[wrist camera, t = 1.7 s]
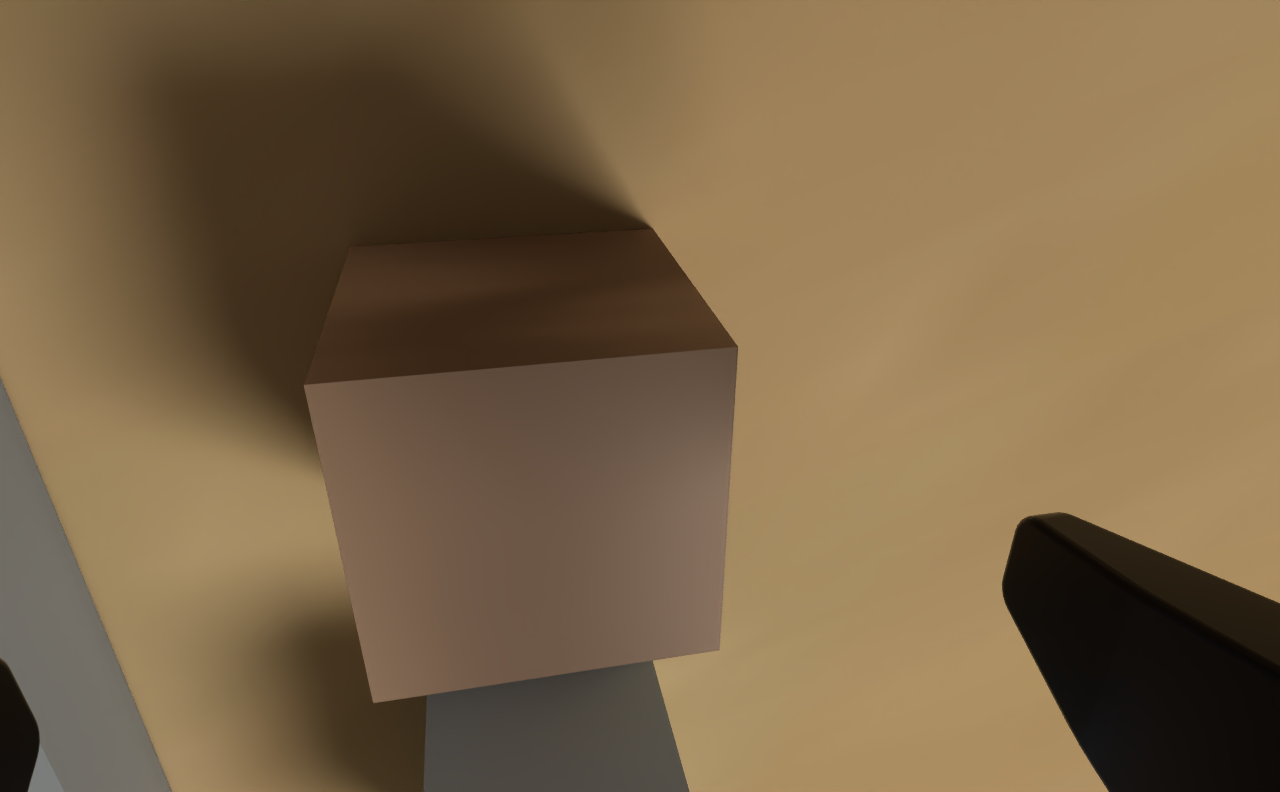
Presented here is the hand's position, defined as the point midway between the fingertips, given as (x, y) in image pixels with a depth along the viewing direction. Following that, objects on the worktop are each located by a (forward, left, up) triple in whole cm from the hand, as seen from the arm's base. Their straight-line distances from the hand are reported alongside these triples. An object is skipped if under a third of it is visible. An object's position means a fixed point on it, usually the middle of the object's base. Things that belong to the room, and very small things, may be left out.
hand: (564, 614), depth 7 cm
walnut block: (0, 0, -5) cm, 5 cm away
